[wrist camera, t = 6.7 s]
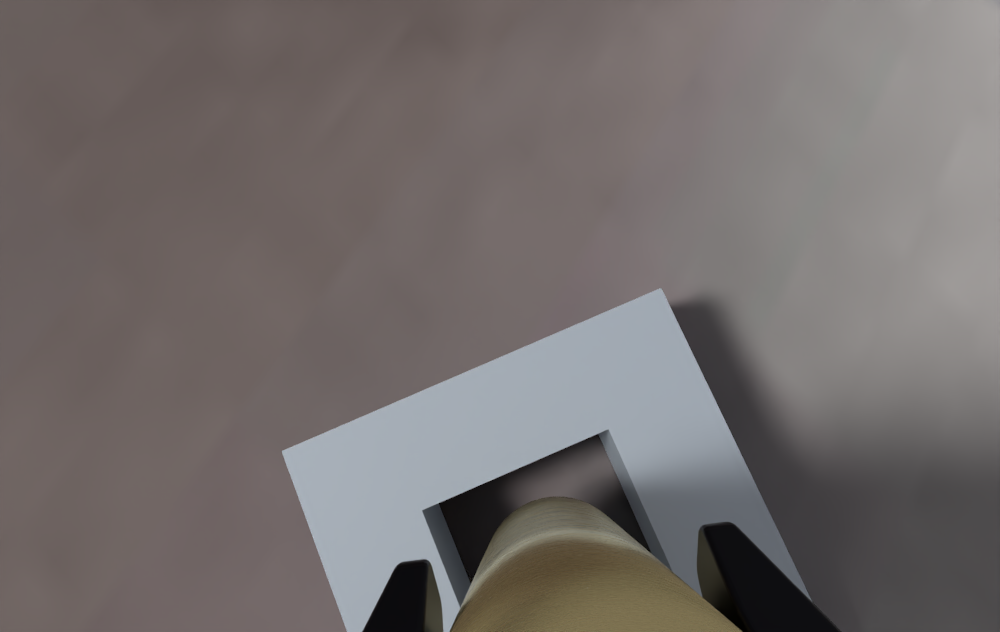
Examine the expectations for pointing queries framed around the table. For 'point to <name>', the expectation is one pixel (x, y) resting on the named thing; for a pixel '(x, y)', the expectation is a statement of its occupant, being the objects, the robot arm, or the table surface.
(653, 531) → the socket block
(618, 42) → the table surface
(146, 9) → the table surface
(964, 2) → the table surface
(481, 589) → the pin
